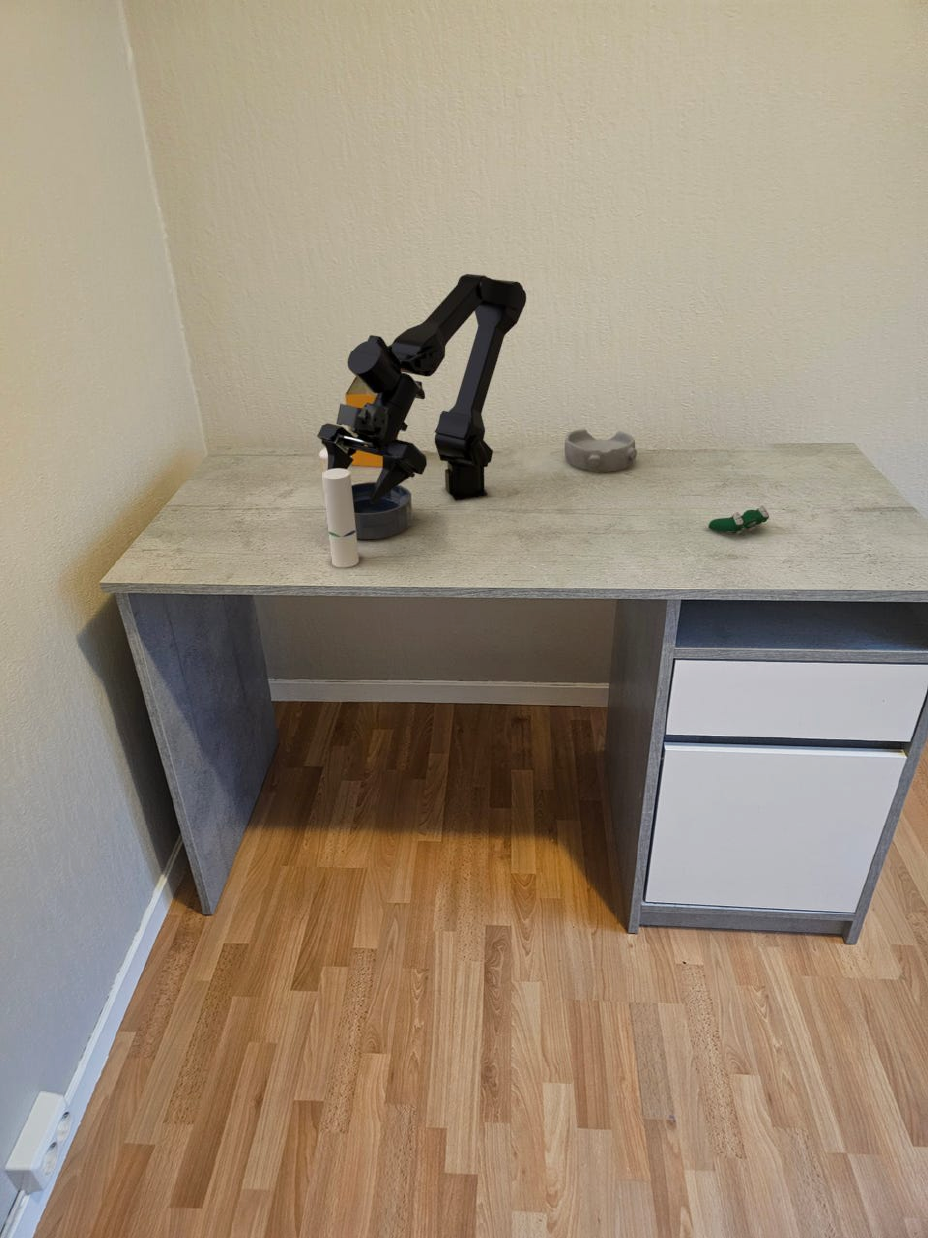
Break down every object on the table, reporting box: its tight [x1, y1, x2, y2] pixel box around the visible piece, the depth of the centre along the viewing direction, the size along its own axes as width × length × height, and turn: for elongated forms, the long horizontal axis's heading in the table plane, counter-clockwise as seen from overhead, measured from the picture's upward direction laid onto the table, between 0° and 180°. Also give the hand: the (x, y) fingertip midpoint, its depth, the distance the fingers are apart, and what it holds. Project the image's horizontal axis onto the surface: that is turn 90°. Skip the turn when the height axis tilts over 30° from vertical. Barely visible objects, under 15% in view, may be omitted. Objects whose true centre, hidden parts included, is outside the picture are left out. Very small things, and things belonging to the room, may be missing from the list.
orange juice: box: [344, 376, 399, 468], centre depth 169 cm, size 8×9×20 cm
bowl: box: [351, 481, 414, 540], centre depth 145 cm, size 14×14×5 cm
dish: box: [564, 428, 638, 472], centre depth 168 cm, size 14×14×5 cm
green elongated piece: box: [707, 505, 770, 535], centre depth 140 cm, size 9×4×6 cm
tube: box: [321, 468, 360, 568], centre depth 131 cm, size 4×4×15 cm
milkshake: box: [318, 446, 328, 473], centre depth 156 cm, size 4×5×10 cm
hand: (349, 496), depth 131 cm, fingers open, 9 cm apart
